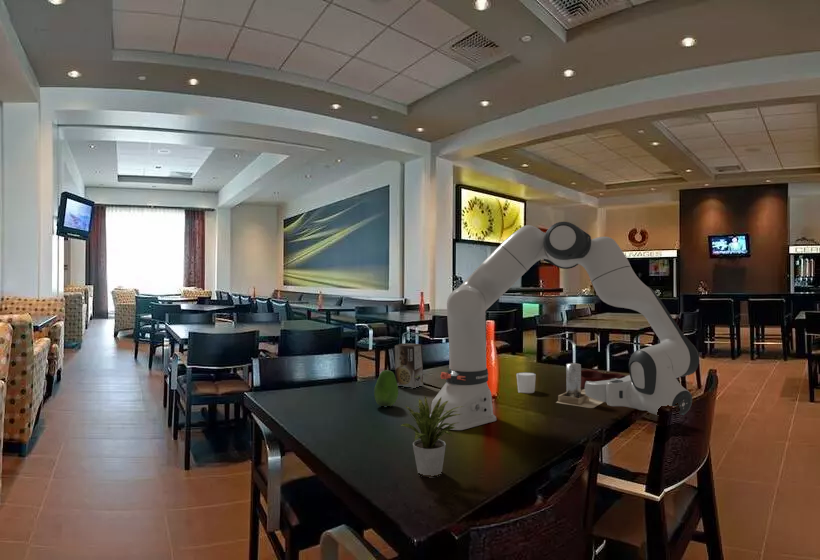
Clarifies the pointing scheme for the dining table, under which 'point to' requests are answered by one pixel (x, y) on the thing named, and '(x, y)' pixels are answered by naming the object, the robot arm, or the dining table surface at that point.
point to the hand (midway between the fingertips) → (600, 382)
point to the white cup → (526, 382)
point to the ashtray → (597, 376)
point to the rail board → (579, 400)
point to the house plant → (430, 437)
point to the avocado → (386, 389)
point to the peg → (573, 380)
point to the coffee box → (409, 364)
